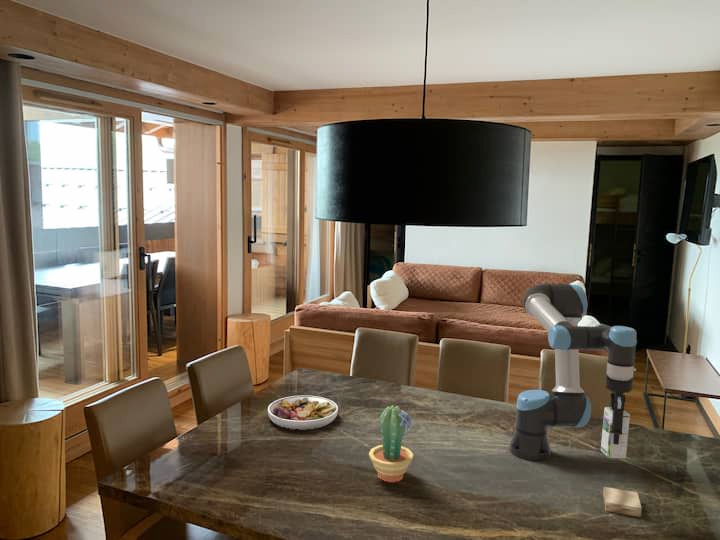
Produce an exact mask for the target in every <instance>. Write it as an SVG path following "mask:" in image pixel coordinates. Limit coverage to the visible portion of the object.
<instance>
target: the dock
mask: <svg viewBox="0 0 720 540" xmlns="http://www.w3.org/2000/svg"><path fill="white" fill-rule="evenodd" d="M602 490H603V491H602V497H603V504H604V509H605V511H606V512H610V513H615V514H621V515H625V516H632V517H636V518H637V517H639V518H642V509H643V507H642V505H641V501H640V498H639V493H638V492H636V491H632V490H631V491H630V490H624V489H619V488H612V487H607V486H603V489H602Z"/></svg>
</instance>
